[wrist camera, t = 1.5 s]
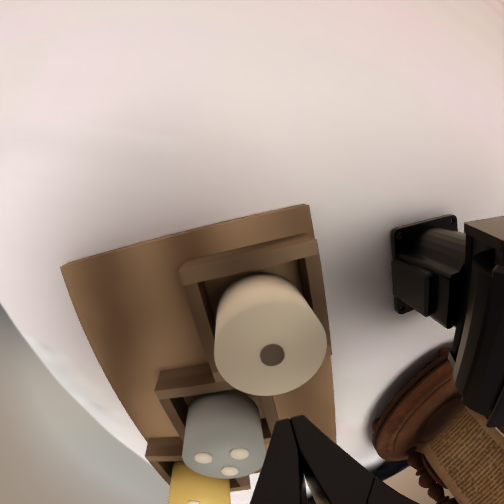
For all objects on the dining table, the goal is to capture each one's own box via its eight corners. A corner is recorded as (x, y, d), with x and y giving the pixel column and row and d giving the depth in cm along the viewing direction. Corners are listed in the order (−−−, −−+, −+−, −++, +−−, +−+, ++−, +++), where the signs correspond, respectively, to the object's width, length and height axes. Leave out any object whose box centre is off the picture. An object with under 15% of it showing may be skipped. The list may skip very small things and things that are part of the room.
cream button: (296, 262, 15) (321, 290, 11) (309, 339, 16) (332, 382, 12) (206, 283, 15) (199, 319, 11) (229, 358, 16) (230, 407, 12)
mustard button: (219, 454, 18) (220, 496, 14) (235, 480, 19) (237, 517, 15) (163, 458, 18) (157, 497, 14) (184, 484, 19) (182, 519, 15)
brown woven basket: (447, 314, 20) (606, 437, 1) (488, 366, 23) (582, 450, 4) (338, 432, 22) (412, 601, 2) (408, 452, 25) (471, 557, 5)
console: (303, 204, 17) (321, 208, 14) (333, 445, 22) (343, 469, 19) (68, 262, 16) (42, 277, 13) (178, 471, 22) (175, 496, 18)
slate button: (250, 383, 16) (257, 432, 12) (265, 429, 17) (273, 474, 13) (177, 395, 16) (168, 443, 12) (200, 440, 17) (198, 483, 13)
